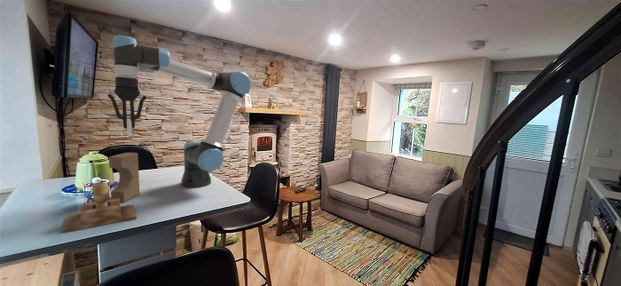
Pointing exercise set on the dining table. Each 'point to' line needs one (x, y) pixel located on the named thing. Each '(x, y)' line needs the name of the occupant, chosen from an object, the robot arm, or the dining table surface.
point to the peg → (100, 194)
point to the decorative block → (125, 176)
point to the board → (77, 219)
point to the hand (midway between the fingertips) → (129, 136)
